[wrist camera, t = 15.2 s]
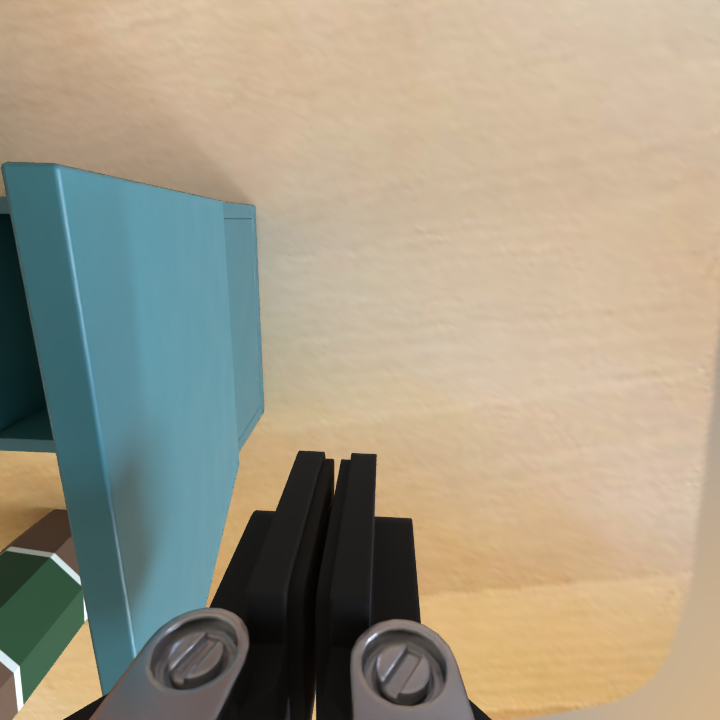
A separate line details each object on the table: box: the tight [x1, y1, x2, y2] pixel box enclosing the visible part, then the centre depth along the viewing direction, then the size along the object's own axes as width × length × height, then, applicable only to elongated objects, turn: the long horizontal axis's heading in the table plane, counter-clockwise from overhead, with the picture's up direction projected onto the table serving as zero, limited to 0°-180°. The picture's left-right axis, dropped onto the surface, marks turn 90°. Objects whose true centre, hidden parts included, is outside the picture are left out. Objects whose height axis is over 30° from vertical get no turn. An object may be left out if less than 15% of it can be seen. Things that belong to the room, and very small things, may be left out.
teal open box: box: [0, 197, 264, 453], centre depth 27 cm, size 15×14×7 cm
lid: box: [1, 162, 239, 696], centre depth 16 cm, size 15×14×1 cm
